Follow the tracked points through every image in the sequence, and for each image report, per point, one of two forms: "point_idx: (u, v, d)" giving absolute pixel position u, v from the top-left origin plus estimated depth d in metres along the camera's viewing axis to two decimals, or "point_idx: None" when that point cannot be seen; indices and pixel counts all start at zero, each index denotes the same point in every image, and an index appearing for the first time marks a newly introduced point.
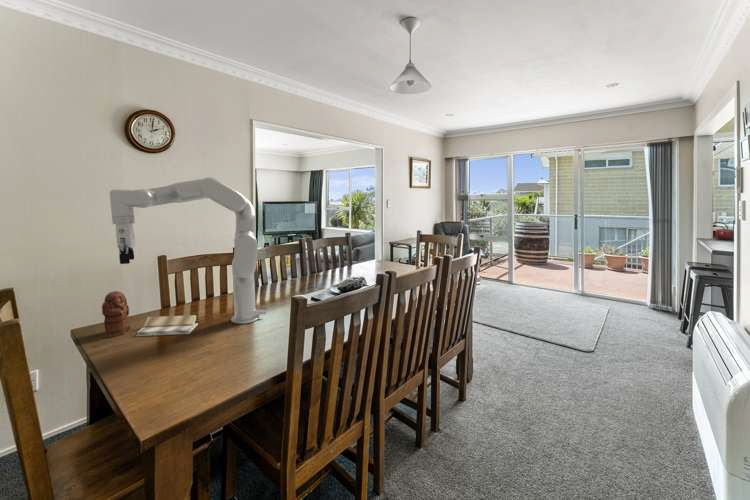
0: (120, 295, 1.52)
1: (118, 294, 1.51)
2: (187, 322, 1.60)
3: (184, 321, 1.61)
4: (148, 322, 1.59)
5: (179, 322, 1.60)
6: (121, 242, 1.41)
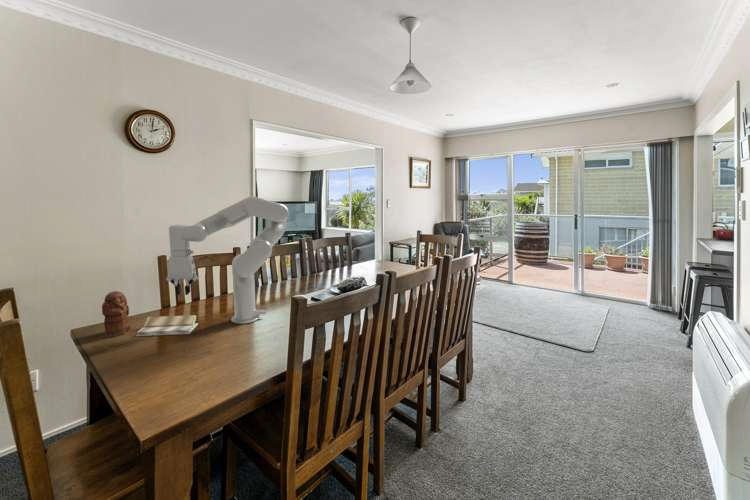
0: (120, 295, 1.52)
1: (118, 294, 1.51)
2: (187, 322, 1.60)
3: (184, 321, 1.61)
4: (148, 322, 1.59)
5: (179, 322, 1.60)
6: (196, 275, 1.60)
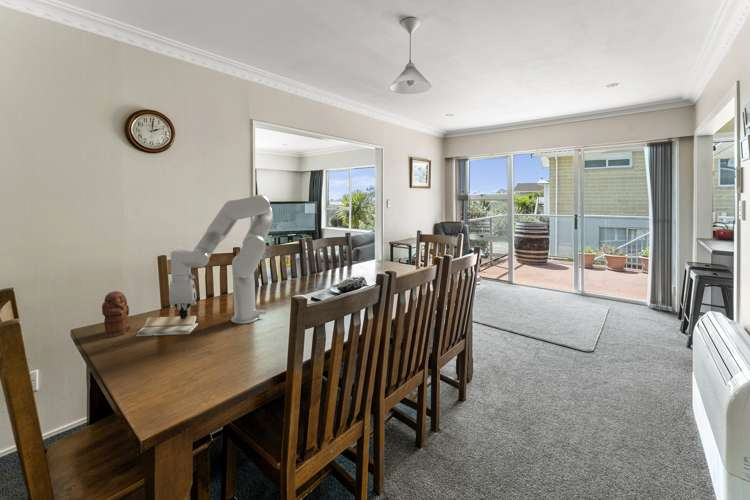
0: (120, 295, 1.52)
1: (118, 294, 1.51)
2: (187, 322, 1.60)
3: (184, 321, 1.61)
4: (148, 322, 1.59)
5: (179, 322, 1.60)
6: (195, 301, 1.61)
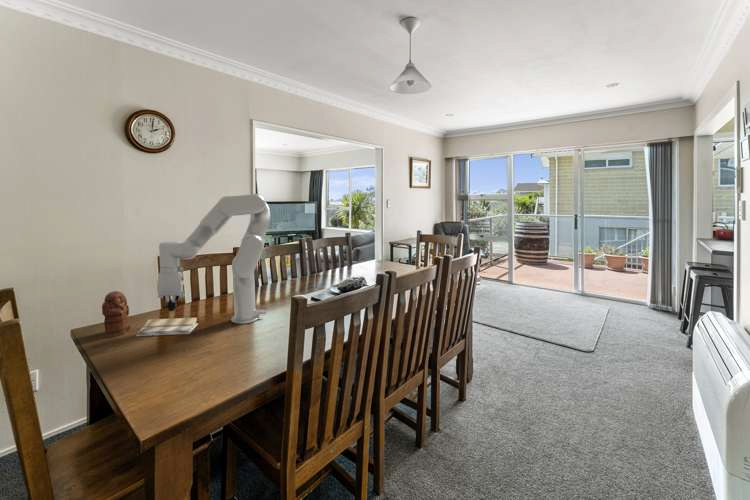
0: (120, 295, 1.52)
1: (118, 294, 1.51)
2: (187, 323, 1.61)
3: (184, 322, 1.61)
4: (148, 323, 1.59)
5: (179, 323, 1.60)
6: (183, 293, 1.60)
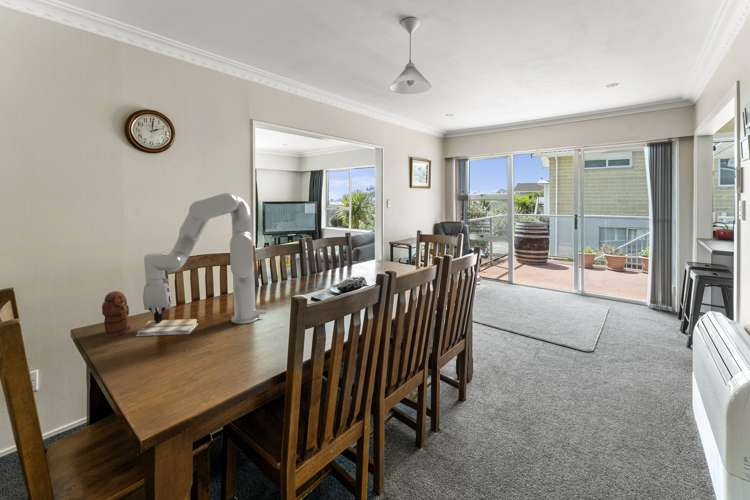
0: (120, 295, 1.52)
1: (118, 294, 1.51)
2: (187, 323, 1.61)
3: (185, 322, 1.61)
4: (149, 324, 1.59)
5: (179, 323, 1.60)
6: (169, 304, 1.61)
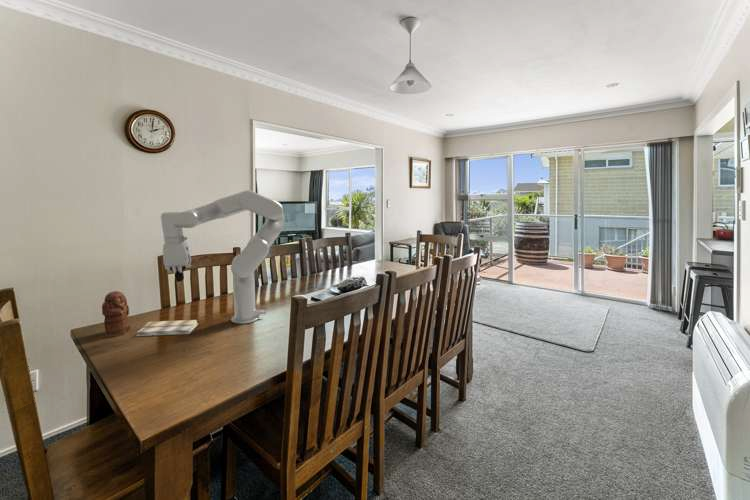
0: (120, 295, 1.52)
1: (118, 294, 1.51)
2: (187, 323, 1.61)
3: (185, 323, 1.61)
4: (149, 324, 1.59)
5: (179, 323, 1.60)
6: (189, 263, 1.60)
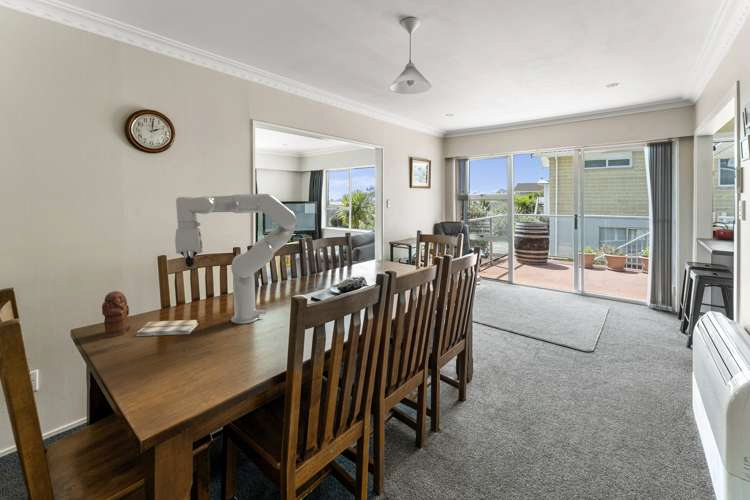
0: (120, 295, 1.52)
1: (118, 294, 1.51)
2: (187, 323, 1.61)
3: (185, 323, 1.61)
4: (149, 324, 1.59)
5: (179, 323, 1.60)
6: (201, 249, 1.61)
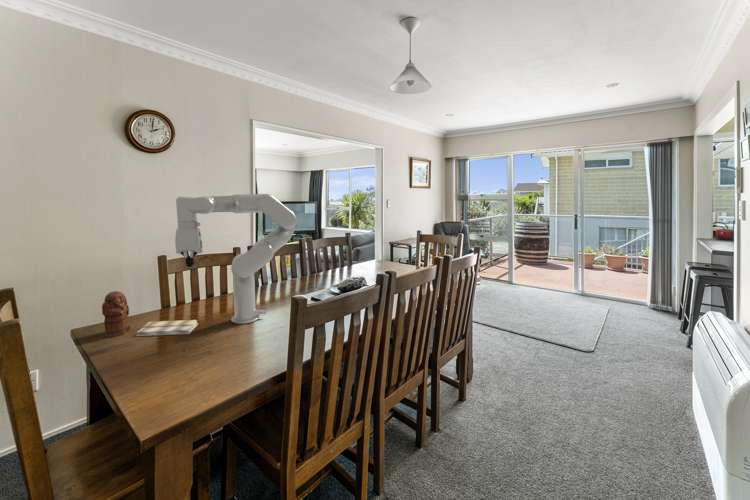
0: (120, 295, 1.52)
1: (118, 294, 1.51)
2: (187, 323, 1.61)
3: (185, 323, 1.61)
4: (149, 324, 1.59)
5: (179, 323, 1.60)
6: (201, 249, 1.61)
